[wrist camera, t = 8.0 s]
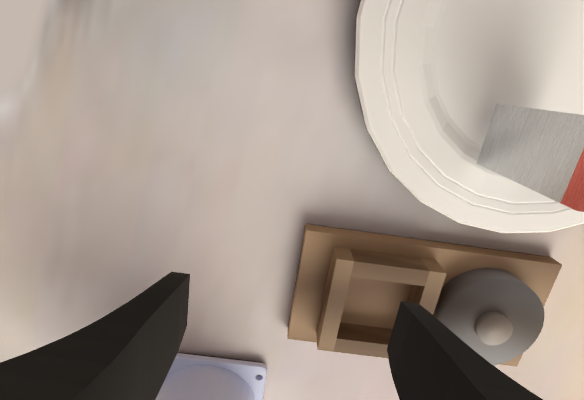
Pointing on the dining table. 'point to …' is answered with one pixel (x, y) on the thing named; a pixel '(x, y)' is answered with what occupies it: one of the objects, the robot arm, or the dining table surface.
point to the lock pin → (538, 151)
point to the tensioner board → (416, 292)
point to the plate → (466, 97)
